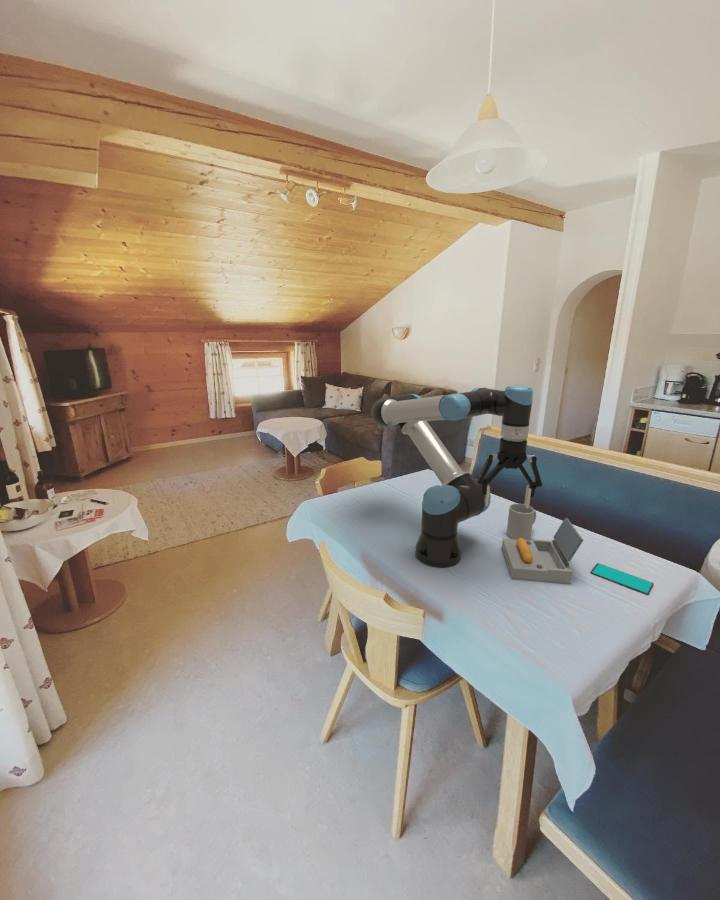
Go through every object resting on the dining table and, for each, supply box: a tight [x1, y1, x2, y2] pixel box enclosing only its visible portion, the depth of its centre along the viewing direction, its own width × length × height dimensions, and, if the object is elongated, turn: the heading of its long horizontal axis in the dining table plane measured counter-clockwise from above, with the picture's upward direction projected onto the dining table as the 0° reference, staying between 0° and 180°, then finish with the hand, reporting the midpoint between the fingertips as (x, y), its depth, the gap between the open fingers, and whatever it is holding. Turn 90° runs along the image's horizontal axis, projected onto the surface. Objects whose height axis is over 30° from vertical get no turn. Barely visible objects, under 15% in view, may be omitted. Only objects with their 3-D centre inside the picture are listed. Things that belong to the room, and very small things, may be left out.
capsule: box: [516, 538, 533, 562], centre depth 125 cm, size 3×12×3 cm, turn 170°
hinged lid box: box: [501, 538, 573, 585], centre depth 126 cm, size 17×18×4 cm
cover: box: [551, 517, 584, 567], centre depth 122 cm, size 10×14×1 cm
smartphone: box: [590, 562, 654, 596], centre depth 119 cm, size 7×1×15 cm
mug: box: [506, 503, 537, 541], centre depth 144 cm, size 12×8×11 cm
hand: (506, 505), depth 122 cm, fingers open, 11 cm apart
